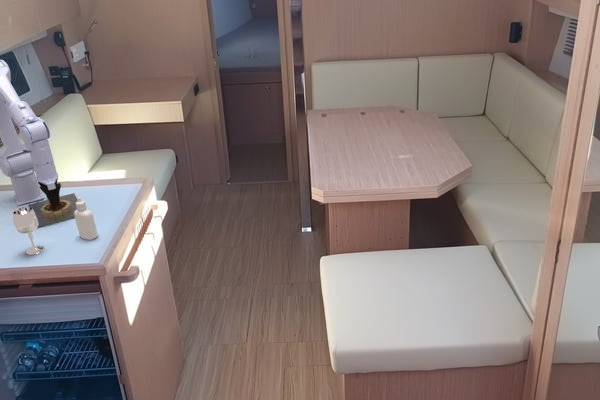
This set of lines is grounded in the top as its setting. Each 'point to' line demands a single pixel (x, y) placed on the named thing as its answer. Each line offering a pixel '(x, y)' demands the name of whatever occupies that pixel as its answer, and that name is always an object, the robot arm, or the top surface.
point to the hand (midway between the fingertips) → (54, 203)
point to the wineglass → (27, 226)
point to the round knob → (56, 206)
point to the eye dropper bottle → (85, 221)
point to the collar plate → (55, 216)
